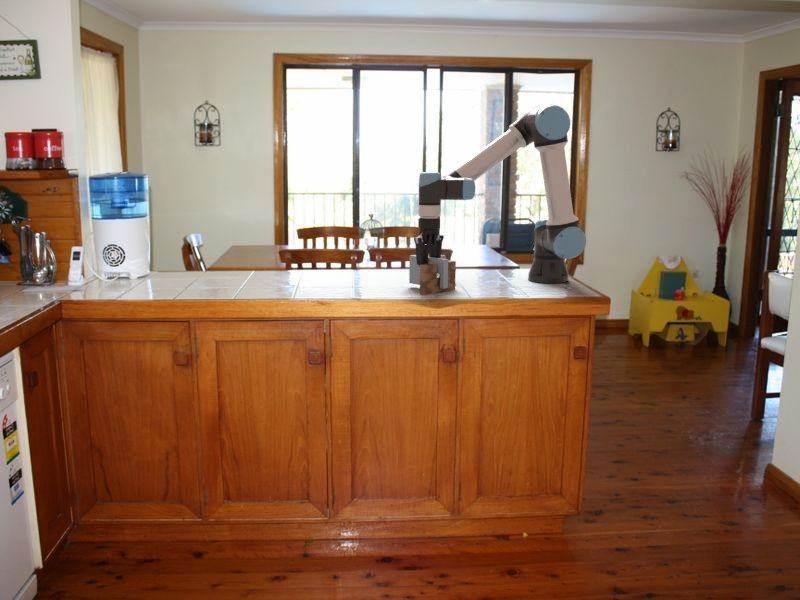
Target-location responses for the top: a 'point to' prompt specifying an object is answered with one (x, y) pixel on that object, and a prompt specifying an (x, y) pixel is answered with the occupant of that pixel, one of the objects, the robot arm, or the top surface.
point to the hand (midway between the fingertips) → (428, 284)
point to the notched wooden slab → (435, 278)
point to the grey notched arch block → (441, 263)
